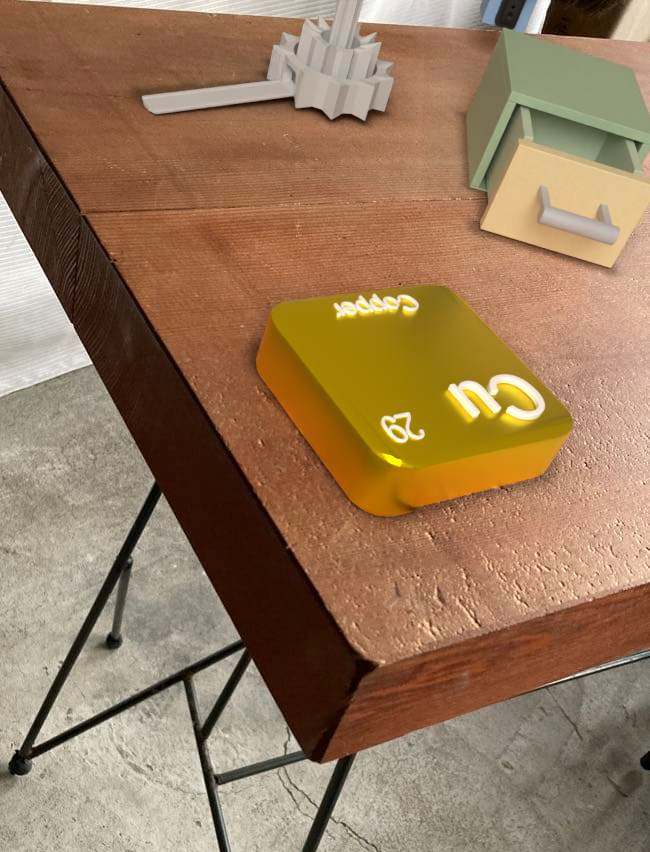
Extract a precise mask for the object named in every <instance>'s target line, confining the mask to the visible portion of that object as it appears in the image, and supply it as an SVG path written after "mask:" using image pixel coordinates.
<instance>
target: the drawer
mask: <svg viewBox="0 0 650 852" xmlns="http://www.w3.org/2000/svg"><path fill="white" fill-rule="evenodd" d="M642 165H643V164H642ZM642 165H641V162H640V159H639V155H638V152H637V149H636V146H635V143H634V140H633V139H629V138H626V137H623V136H620V135H617V134H613V133H610V132H607V131H604V130H601V129H597V128H594V127H591V126H588V125H585V124H581V123H578V122H575V121H572V120H569V119H566V118H562V117H559V116H556V115H553V114H550V113H546V112H543V111H540V110H537V109H534V108H530V107H527V106H524V105H521V104H518V103H516V106H515V108H514V110H513V113H512V115H511V117H510V119H509V121H508V124H507V126H506V128H505V130H504V133H503V135H502V137H501V139H500V142H499V144H498V146H497V148H496V151H495V153H494V155H493V157H492V160H491V162H490V164H489V166H488V168H487V171H486V182H487V192H486V194H487V205H486V208H485V210H484V212H483V214H482V216H481V218H480V221H479V228H480V230H483V231H486V232H490V233H492V234H497V235H499V236H502V237H506V238H510V239H512V240H516V241H518V242H522V243H526V244H529V245H533V246H536V247H539V248H542V249H546V250H549V251H553V252H556V253H559V254H563V255H566V256H569V257H573V258H575V259H579V260H583V261H585V262H589V263H592V264H596V265H598V266H602V267H606V268H609V269H611V268H612V267H613V265H614V264H615V263H616V261H617V259H618V257H619V256H620V255H621V253H622V251H623V249H624V248H625V245H626V244H627V242H628V240H629V239H630V237H631V235H632V233H633V232H634V230H635V229H636V227H637V226H638V223H639V222H640V220H641V218H642V217H643V215H644V213H645V212H646V210H647V209H648V207H649V205H650V178H648V177H647V176H646V177H645V176H644V174H645V171H644V168H643V166H642Z"/></svg>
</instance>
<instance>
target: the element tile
mask: <svg viewBox="0 0 650 852" xmlns="http://www.w3.org/2000/svg"><path fill="white" fill-rule="evenodd" d="M255 366H256V371H257V373H258V375H259V377H260V378H261V379H262V381H263V382H264V384H265V385H266V387H267V388H268V389H269V390H270V391H271V393H272V395H273V396H274V398H275V399H276V401H277V402H278V403H279V404H280V406H281V407H282V409H283V410H284V412H286V415H288V417H289V418H290V420H291V421H292V422H293V424H294V425H295V427H296V428H297V429H298V431H299V432H300V433H301V435H302V436H303V437H304V439H305V440H306V442H307V443H308V445H309V446H310V447H311V448H312V450H313V451H314V453H315V454H316V456H317V457H318V458H319V460H320V461H321V462H322V464H323V465H324V466H325V468H326V469H327V471H328V472H329V473H330V475H331V476H332V477H333V479H334V480H335V481H336V483H337V484H338V486H339V488H340V489H341V490H342V491H343V492H344V494H345V495H346V497H347V498H348V499H349V500H350V501H351V502H352V503H353V504H354V505H355V506H357V507H359V508H360V509H361V510H362V511H363V512H365V513H368V514H371V515H374V516H377V517H385V518H387V517H388V518H389V517H398V516H403V515H406V514H410V513H414V512H416V509H417V508H421V507H424V506H428V505H432V504H437V503H440V502H443V501H447V500H451V499H456V498H460V497H463V496H469V495H471V494H476V493H479V492H483V491H487V490H492V489H496V488H500V487H503V486H507V485H511V484H515V483H519V482H523V481H527V480H532V479H535V478H537V477H540V476H543V474H544V473H546V471H547V470H548V468H549V467H550V465H551V464H552V462H553V461H554V459H555V458H556V456H557V455H558V453H559V452H560V451H561V449H562V447H563V446H564V444H565V442H566V441H567V439H568V438H569V437H570V434H571V433H572V432H573V430H574V423H575V422H574V421H575V420H574V419H573V416H572V415H571V413H570V411H569V409H568V408H567V406H566V405H564V403H563V402H562V401H561V400H560V399H559V398H558V397H557V396H556V395H555V394H554V393H553V392H552V391H551V390H550V389H549V388H548V386H546V385H545V384H544V382H543V381H542V380H541V379H540V378H539V377H538V376H537V375H536V374H535V373H534V372H533V370H531V369H530V368H529V367H528V365H526V364H525V362H524V361H523V360H522V359H521V358H520V357H519V356H518V355H517V354H516V353H515V352H514V351H513V350H512V348H511V347H509V345H507V343H506V342H505V341H504V340H503V339H502V338H501V337H500V336H499V335H498V334H497V333H496V332H495V331H494V330H493V329H492V328H491V327H490V326H489V324H487V322H485V320H484V319H483V318H482V317H481V316H480V315H479V314H478V313H477V312H476V311H475V310H474V309H473V308H472V307H471V306H470V305H469V303H468V302H467V301H465V299H464V298H462V297H461V295H459V294H458V293H456V292H455V291H454V290H453V289H451V288H449V287H448V286H446V285H439V284H437V285H436V284H416V285H406V286H400V287H390V288H382V289H381V288H380V289H371V290H363V291H354V292H347V293H337V294H336V293H335V294H329V295H320V296H312V297H303V298H293V299H287V300H283V301H280V302H278V303H276V304H274V305H273V306H272V308H271V310H270V312H269V314H268V317H267V321H266V325H265V327H264V331H263V334H262V338H261V340H260V344H259V347H258V350H257V353H256V357H255Z"/></svg>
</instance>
